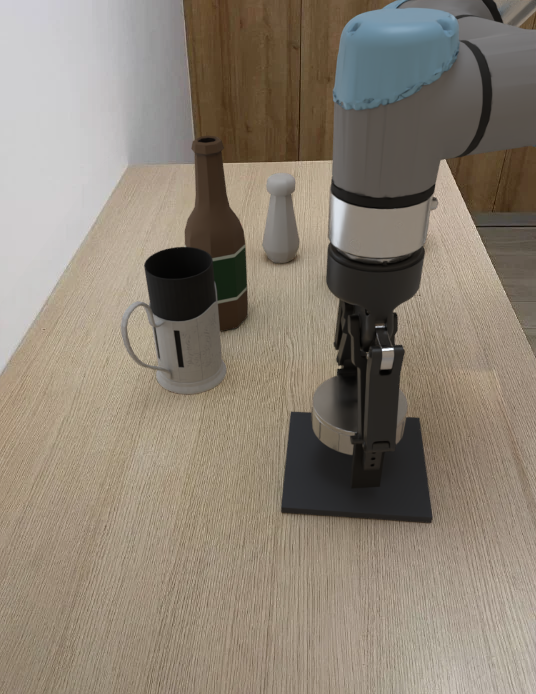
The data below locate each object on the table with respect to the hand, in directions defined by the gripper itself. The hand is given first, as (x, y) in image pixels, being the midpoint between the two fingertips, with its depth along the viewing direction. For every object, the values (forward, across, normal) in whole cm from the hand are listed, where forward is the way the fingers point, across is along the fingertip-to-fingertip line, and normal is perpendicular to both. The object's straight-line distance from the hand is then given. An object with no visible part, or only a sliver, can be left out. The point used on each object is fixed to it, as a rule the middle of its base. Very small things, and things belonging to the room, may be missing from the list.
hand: (355, 449), depth 64 cm
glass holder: (+2, +16, +18) cm, 24 cm away
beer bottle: (+2, +30, +13) cm, 33 cm away
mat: (+2, 0, 0) cm, 2 cm away
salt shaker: (+2, +46, +3) cm, 46 cm away
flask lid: (-6, 0, 0) cm, 6 cm away
